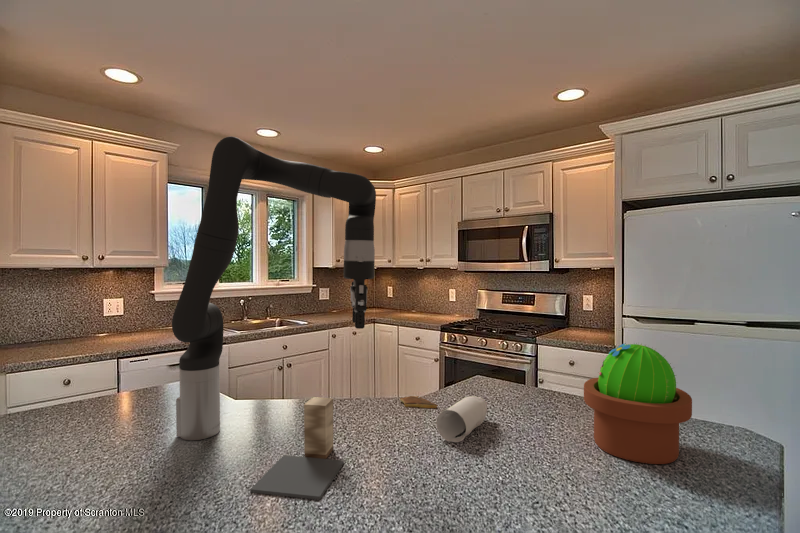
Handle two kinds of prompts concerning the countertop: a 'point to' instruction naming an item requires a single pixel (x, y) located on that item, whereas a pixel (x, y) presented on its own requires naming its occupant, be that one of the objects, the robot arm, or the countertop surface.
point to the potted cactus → (637, 406)
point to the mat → (298, 477)
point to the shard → (417, 402)
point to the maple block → (318, 427)
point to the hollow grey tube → (461, 418)
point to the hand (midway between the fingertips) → (358, 325)
